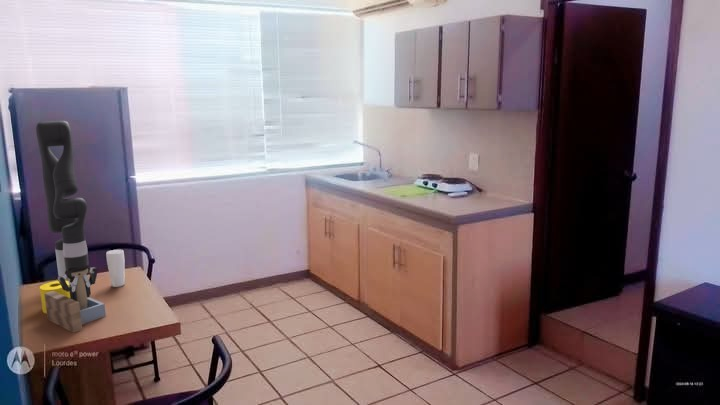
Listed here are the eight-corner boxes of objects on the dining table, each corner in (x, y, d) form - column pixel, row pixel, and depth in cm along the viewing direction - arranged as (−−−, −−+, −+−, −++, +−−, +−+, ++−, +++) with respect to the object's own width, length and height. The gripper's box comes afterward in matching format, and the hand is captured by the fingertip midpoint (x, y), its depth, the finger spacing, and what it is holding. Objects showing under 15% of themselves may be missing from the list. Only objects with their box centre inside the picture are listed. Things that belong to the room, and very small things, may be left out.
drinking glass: (106, 286, 222) (102, 252, 219) (119, 281, 228) (116, 248, 225) (116, 289, 219) (113, 254, 216) (130, 284, 225) (127, 250, 222)
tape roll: (43, 315, 192) (39, 291, 191) (42, 306, 201) (39, 283, 199) (73, 310, 198) (70, 286, 196) (72, 301, 206) (69, 278, 204)
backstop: (47, 319, 189) (44, 293, 187) (56, 316, 192) (53, 290, 190) (73, 332, 178) (70, 305, 176) (82, 329, 181) (79, 302, 179)
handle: (71, 309, 191) (66, 270, 188) (90, 305, 194) (86, 266, 191) (73, 313, 187) (68, 273, 184) (93, 309, 191) (89, 270, 188)
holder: (60, 319, 190) (59, 306, 189) (90, 309, 198) (89, 297, 197) (75, 326, 184) (74, 313, 183) (105, 316, 192) (104, 303, 191)
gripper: (90, 247, 194) (94, 290, 198) (49, 256, 183) (55, 302, 186) (100, 250, 190) (105, 294, 193) (59, 260, 179) (65, 307, 182)
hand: (80, 298), depth 190 cm, fingers closed on handle, 4 cm apart
